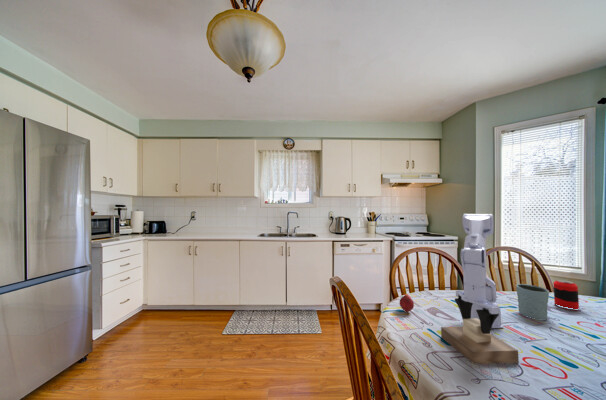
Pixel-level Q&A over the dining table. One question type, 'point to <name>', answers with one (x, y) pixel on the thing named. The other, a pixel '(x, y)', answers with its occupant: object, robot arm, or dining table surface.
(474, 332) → the beech cube
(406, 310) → the pomegranate
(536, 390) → the dining table surface
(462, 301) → the robot arm
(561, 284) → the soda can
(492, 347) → the walnut block
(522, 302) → the green plant pot
